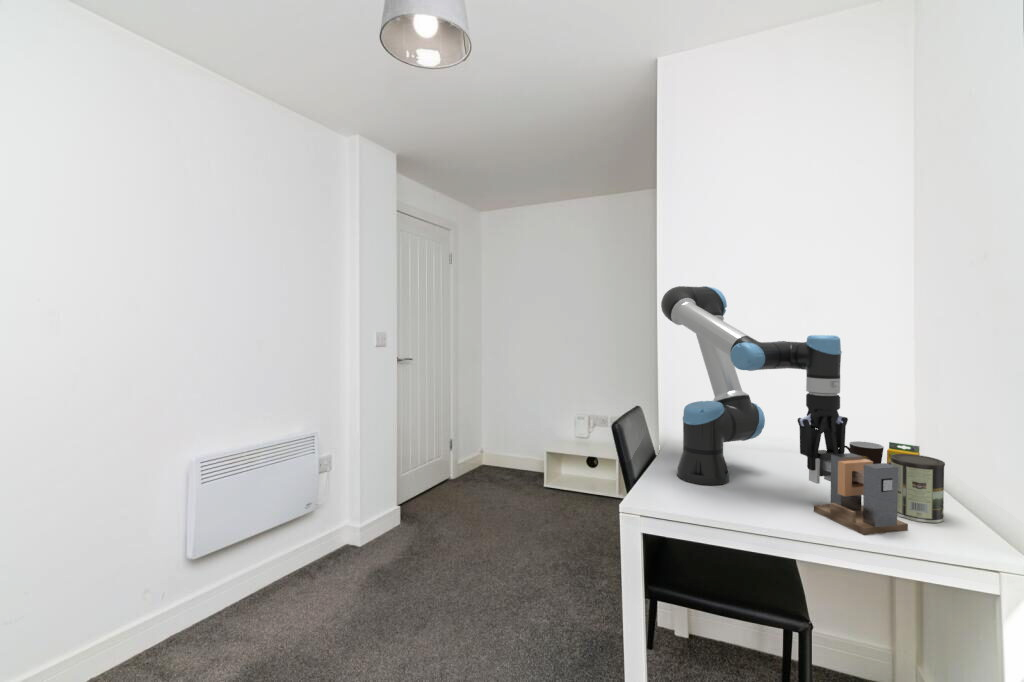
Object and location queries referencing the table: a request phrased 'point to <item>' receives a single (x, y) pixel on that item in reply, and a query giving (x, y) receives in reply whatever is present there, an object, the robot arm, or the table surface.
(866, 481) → the bearing blocks
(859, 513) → the tray
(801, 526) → the table surface
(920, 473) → the coffee can
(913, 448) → the crayon box
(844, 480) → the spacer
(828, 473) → the shaft
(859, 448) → the coffee mug
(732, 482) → the table surface
